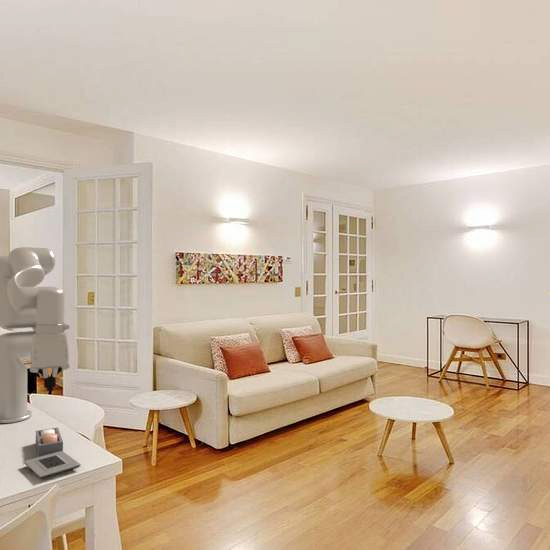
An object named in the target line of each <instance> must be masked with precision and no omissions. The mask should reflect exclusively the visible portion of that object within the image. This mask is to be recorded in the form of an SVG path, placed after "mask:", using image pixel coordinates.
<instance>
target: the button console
mask: <svg viewBox="0 0 550 550" xmlns="http://www.w3.org/2000/svg"><path fill="white" fill-rule="evenodd" d="M47 429H48V428H46V429H45V428H44V429H39V430H35V447H36V451H37V456H38V457H41V456H45V455H48V454H52V453H56V452H59V451H63V452H64V443H63V442H64V440H63V437H62V435H61V433H60V429H59V427H51V428H50V429H54V430H55V434H57V442H52V443H46V444H43V436H41V431H43V430H47Z"/></svg>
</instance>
